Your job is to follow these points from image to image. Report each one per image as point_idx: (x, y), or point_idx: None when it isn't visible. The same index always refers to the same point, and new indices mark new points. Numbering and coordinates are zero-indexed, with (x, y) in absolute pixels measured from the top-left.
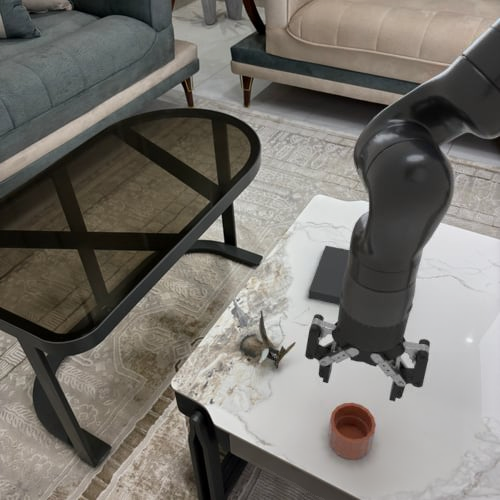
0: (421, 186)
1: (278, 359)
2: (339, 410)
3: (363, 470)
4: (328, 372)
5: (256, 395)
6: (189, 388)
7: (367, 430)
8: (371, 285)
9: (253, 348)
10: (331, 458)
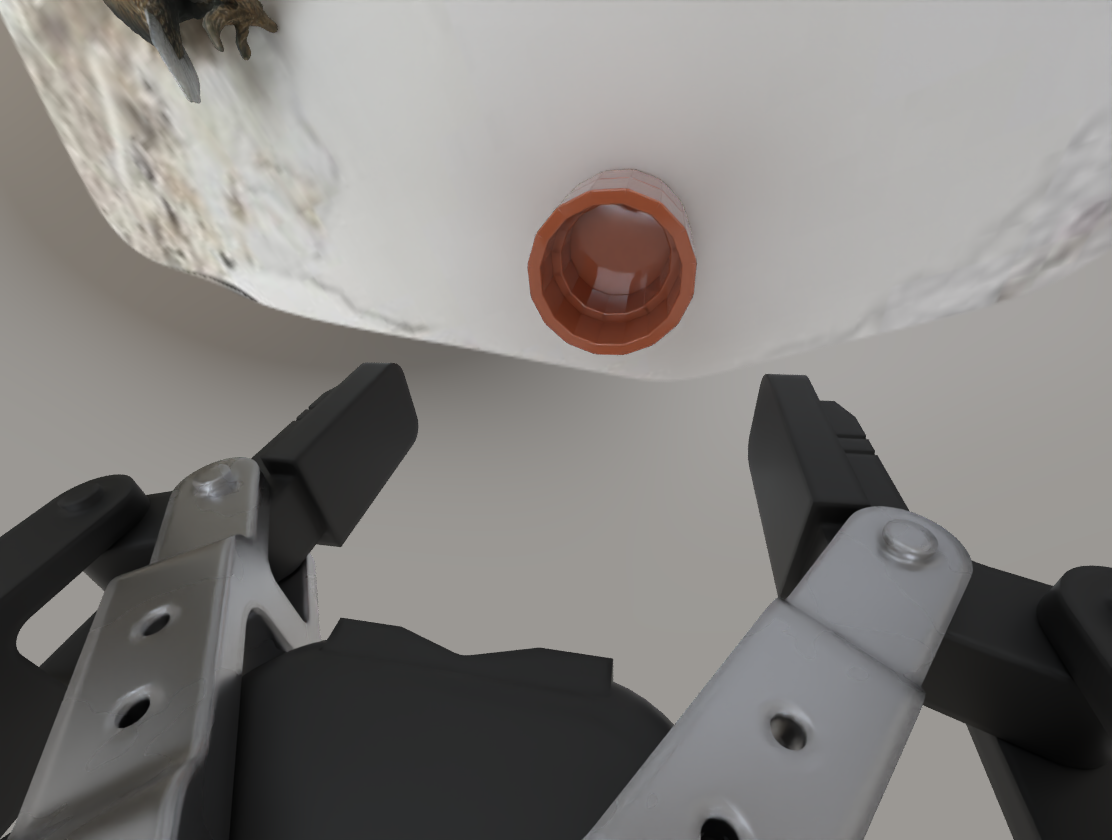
0: None
1: (239, 17)
2: (551, 237)
3: None
4: (364, 509)
5: (303, 191)
6: (153, 243)
7: (670, 242)
8: None
9: (124, 2)
10: None
